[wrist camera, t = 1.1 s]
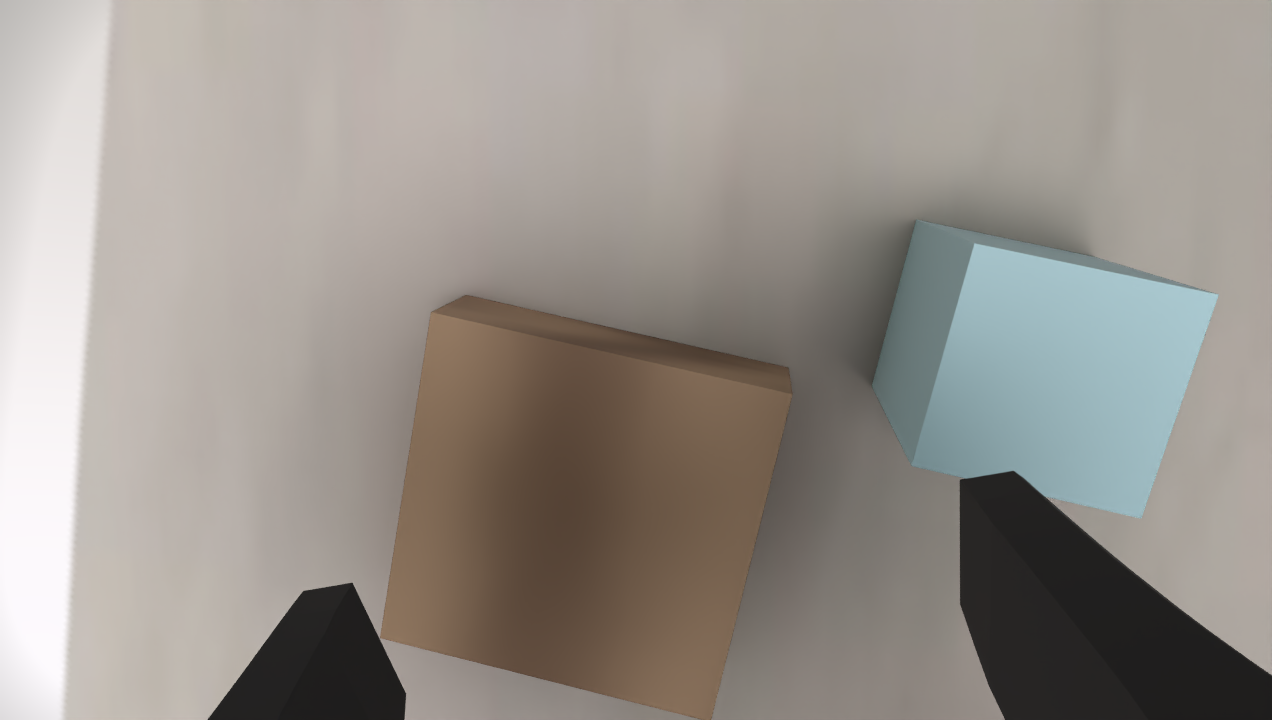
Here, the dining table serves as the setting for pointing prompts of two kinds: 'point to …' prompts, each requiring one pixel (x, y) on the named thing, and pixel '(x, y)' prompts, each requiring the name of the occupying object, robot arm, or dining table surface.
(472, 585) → the walnut base block
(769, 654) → the dining table surface
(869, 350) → the dining table surface
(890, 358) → the teal block
